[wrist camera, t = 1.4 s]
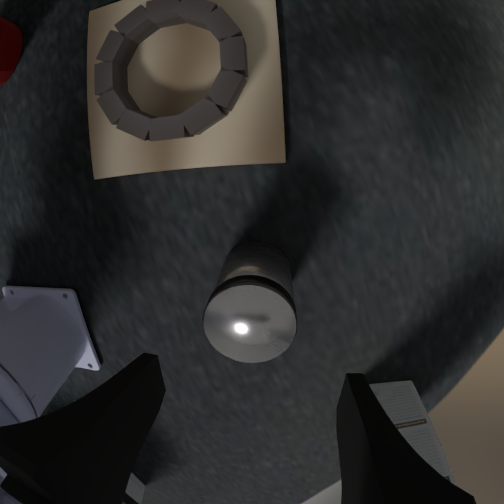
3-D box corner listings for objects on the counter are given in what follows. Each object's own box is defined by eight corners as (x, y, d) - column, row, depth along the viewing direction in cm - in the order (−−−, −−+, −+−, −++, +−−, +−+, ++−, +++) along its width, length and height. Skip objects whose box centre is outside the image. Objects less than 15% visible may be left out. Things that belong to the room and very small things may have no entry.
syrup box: (349, 384, 23) (381, 548, 10) (414, 377, 23) (470, 520, 9) (339, 425, 25) (357, 565, 12) (397, 419, 25) (433, 547, 11)
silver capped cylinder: (224, 305, 21) (208, 362, 16) (218, 242, 20) (196, 285, 14) (291, 304, 21) (296, 362, 15) (291, 240, 19) (298, 284, 14)
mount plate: (98, 178, 19) (77, 185, 16) (93, 13, 14) (73, 3, 12) (285, 161, 18) (287, 166, 15) (273, -21, 13) (272, -41, 11)
